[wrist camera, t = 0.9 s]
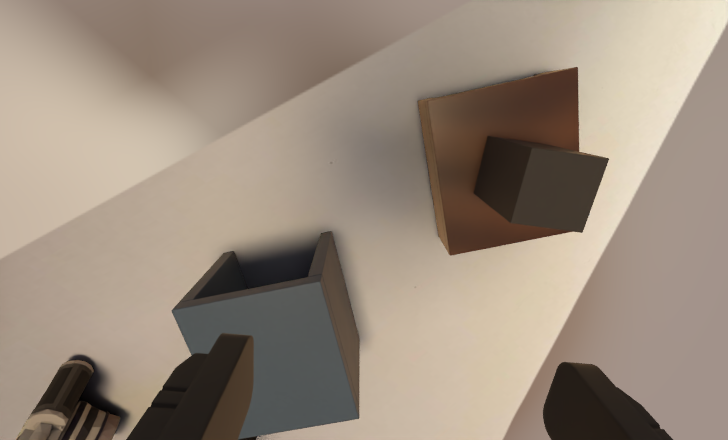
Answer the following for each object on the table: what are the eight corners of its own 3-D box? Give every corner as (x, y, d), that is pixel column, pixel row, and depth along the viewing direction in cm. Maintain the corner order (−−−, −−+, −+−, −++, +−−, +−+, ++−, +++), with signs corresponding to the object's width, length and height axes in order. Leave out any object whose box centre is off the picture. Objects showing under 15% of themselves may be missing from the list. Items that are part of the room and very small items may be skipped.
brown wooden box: (417, 100, 33) (427, 100, 28) (545, 72, 32) (577, 66, 28) (438, 236, 37) (449, 255, 33) (552, 213, 37) (580, 230, 32)
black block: (473, 193, 31) (510, 223, 23) (487, 135, 29) (532, 147, 22) (528, 200, 31) (582, 233, 23) (545, 144, 29) (609, 158, 22)
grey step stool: (223, 253, 38) (170, 310, 27) (331, 230, 37) (320, 281, 27) (262, 357, 42) (229, 441, 32) (359, 339, 41) (359, 419, 31)
